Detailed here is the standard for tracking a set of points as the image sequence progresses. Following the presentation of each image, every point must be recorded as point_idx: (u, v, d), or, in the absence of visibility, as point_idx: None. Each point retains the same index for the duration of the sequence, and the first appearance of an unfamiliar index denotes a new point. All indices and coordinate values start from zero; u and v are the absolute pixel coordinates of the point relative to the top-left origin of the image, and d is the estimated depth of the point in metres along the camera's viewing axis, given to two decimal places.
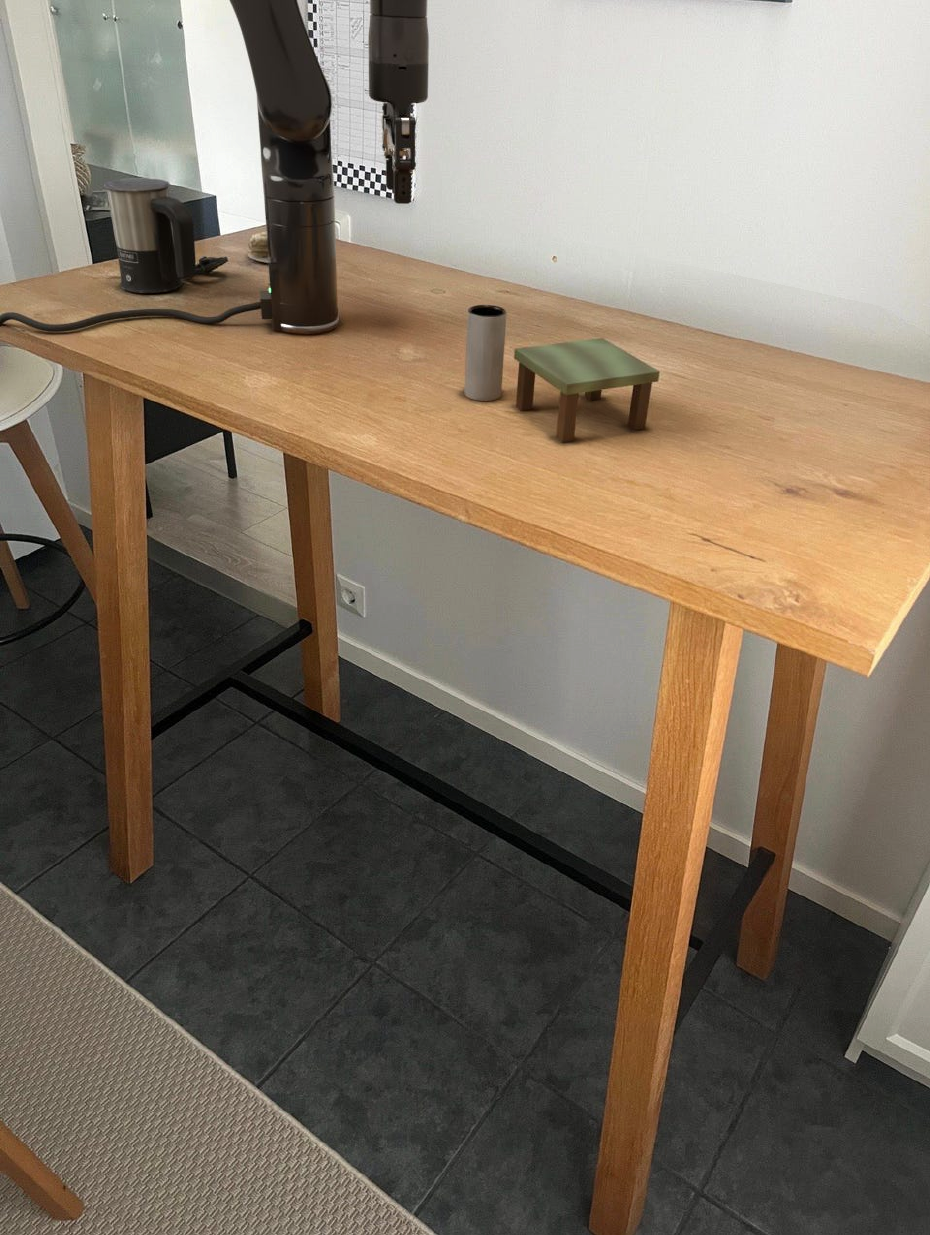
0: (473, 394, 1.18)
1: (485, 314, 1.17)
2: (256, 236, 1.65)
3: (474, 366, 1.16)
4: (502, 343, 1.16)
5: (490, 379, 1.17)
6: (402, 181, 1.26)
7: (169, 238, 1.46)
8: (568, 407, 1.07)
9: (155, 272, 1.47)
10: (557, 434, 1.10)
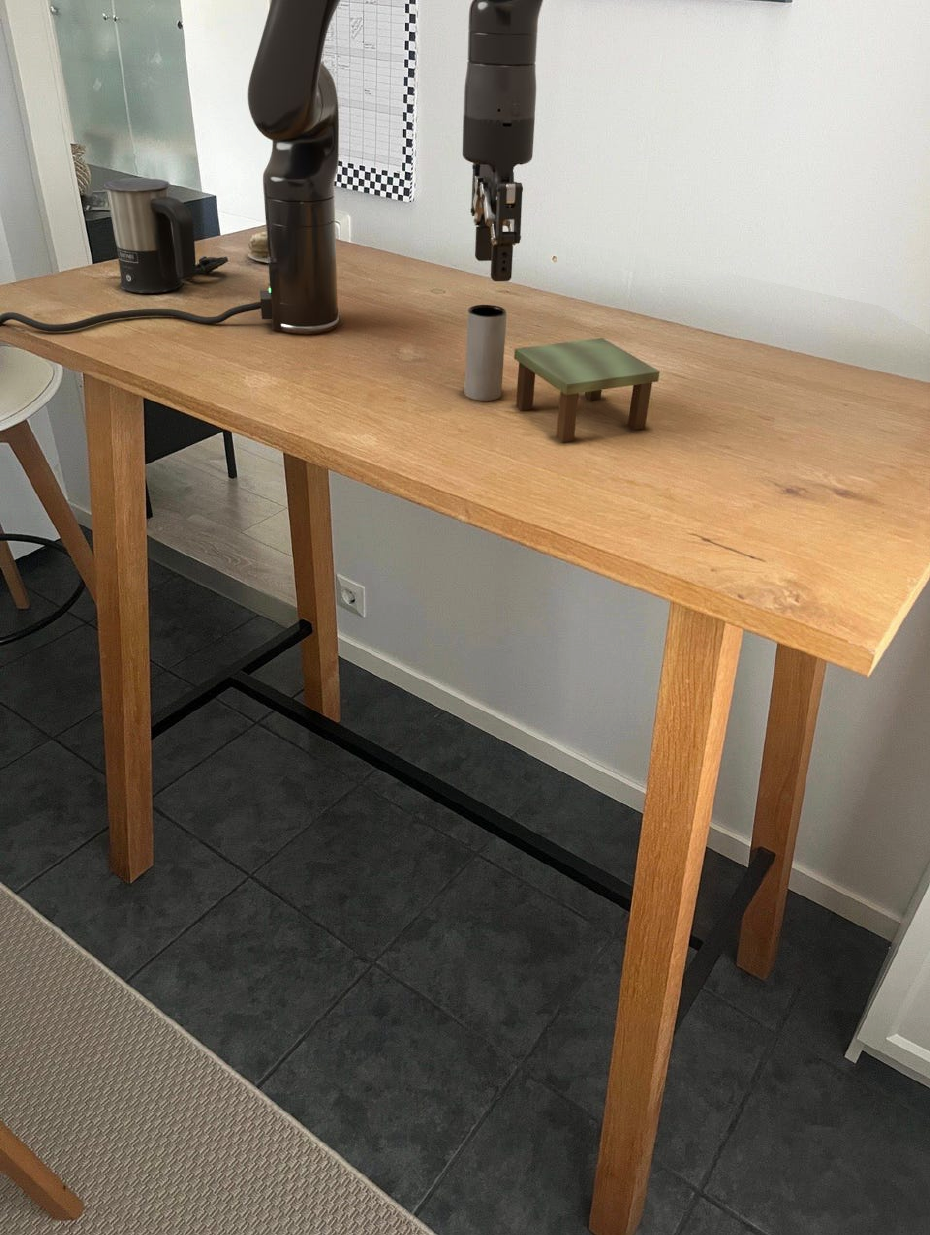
0: (473, 394, 1.18)
1: (485, 314, 1.17)
2: (256, 236, 1.65)
3: (474, 366, 1.16)
4: (502, 343, 1.16)
5: (490, 379, 1.17)
6: (502, 256, 1.06)
7: (169, 238, 1.46)
8: (568, 407, 1.07)
9: (155, 272, 1.47)
10: (557, 434, 1.10)
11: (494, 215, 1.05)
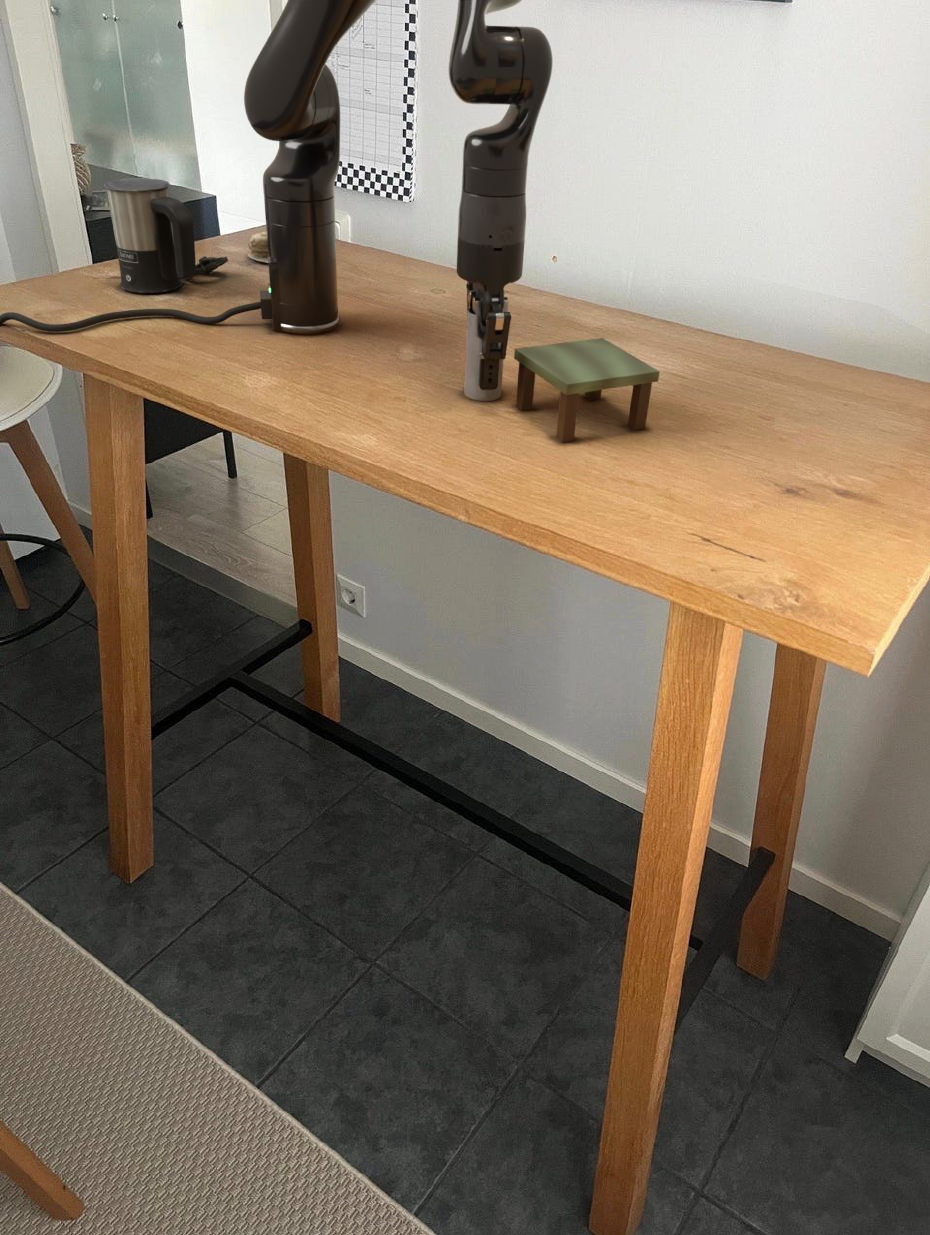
0: (473, 394, 1.18)
1: None
2: (256, 236, 1.65)
3: (474, 366, 1.16)
4: None
5: None
6: (489, 368, 1.15)
7: (169, 238, 1.46)
8: (568, 407, 1.07)
9: (155, 272, 1.47)
10: (557, 434, 1.10)
11: None
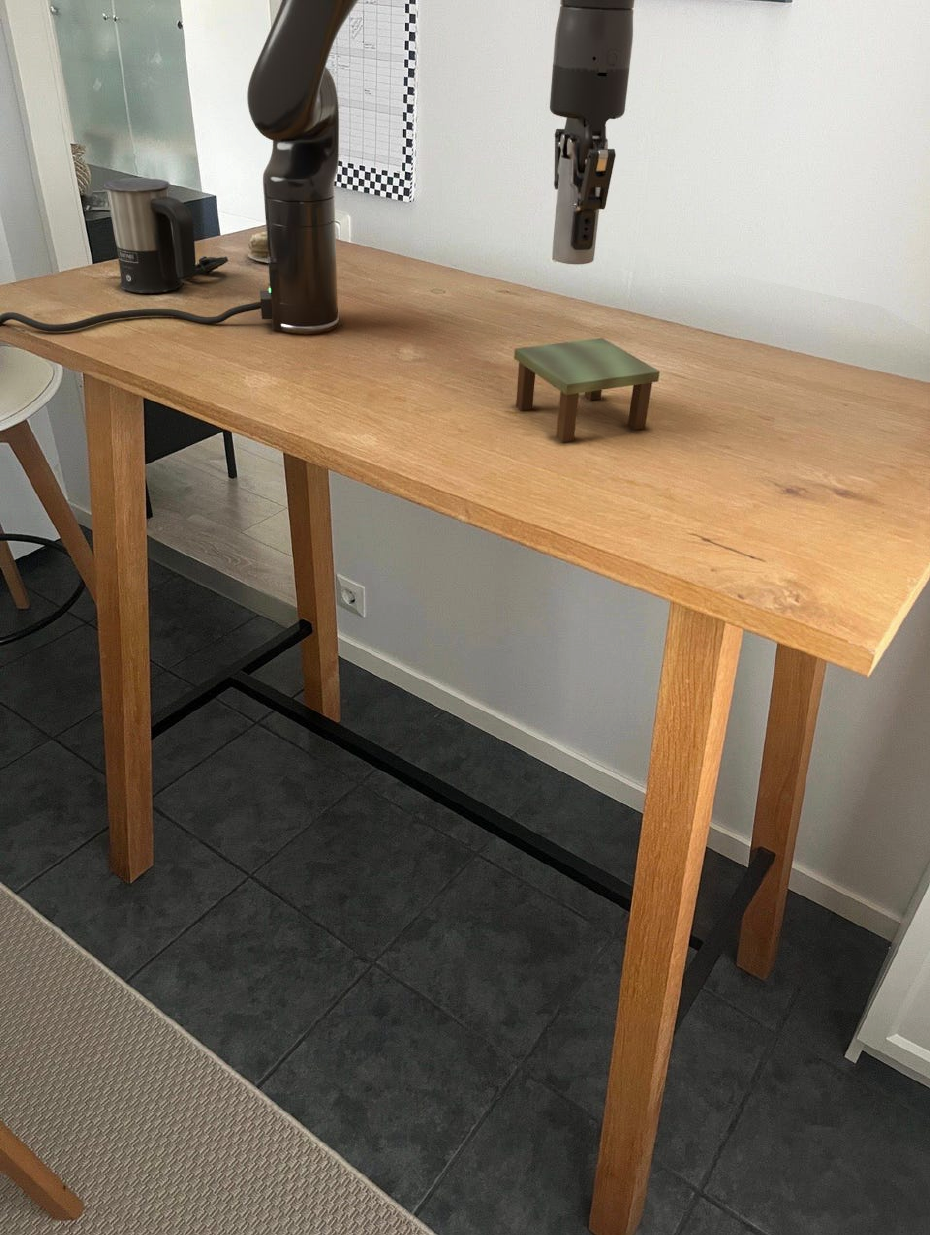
0: (564, 256, 1.05)
1: None
2: (256, 236, 1.65)
3: (566, 222, 1.03)
4: None
5: None
6: (585, 223, 1.01)
7: (169, 238, 1.46)
8: (568, 407, 1.07)
9: (155, 272, 1.47)
10: (557, 434, 1.10)
11: None
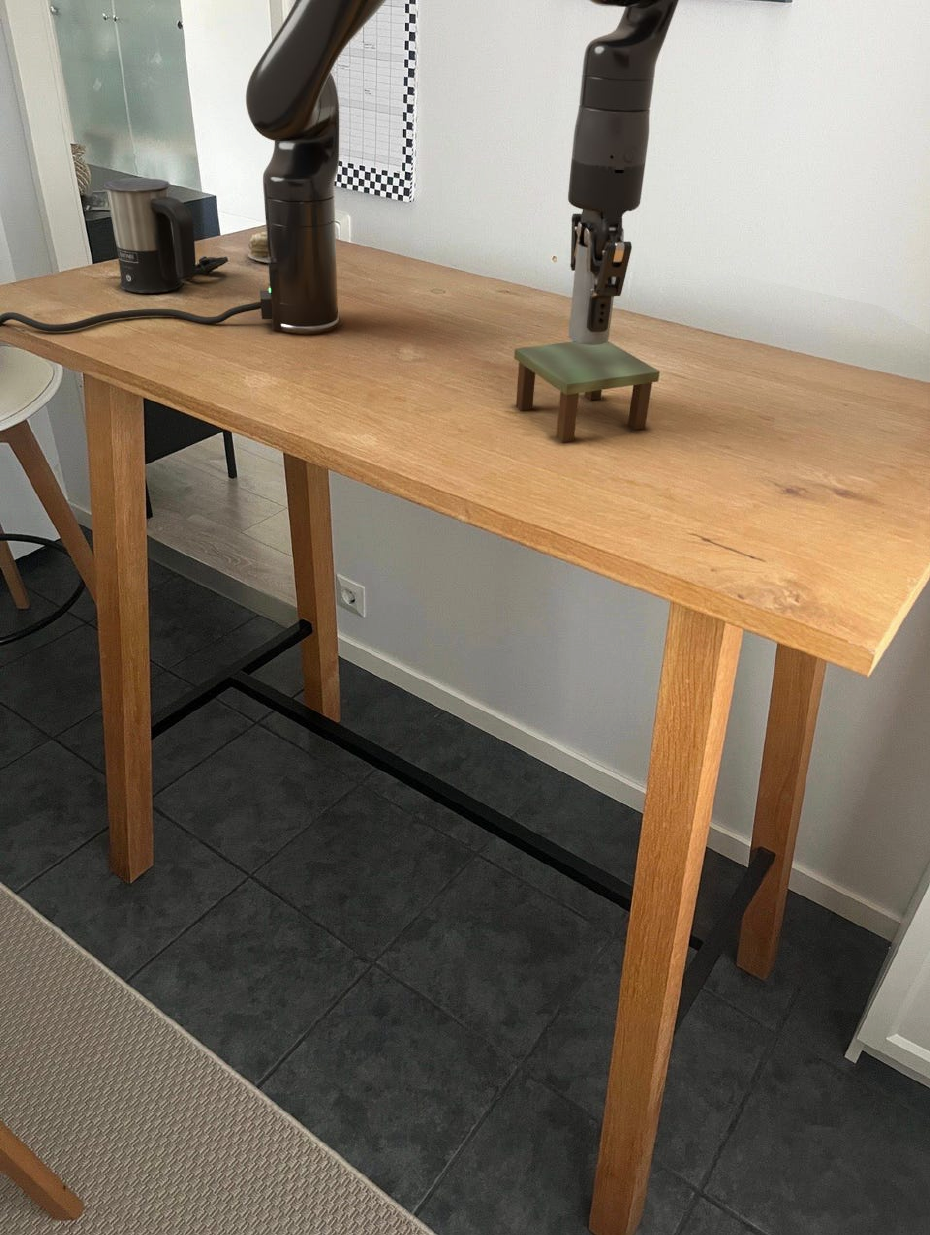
0: (580, 337, 1.08)
1: None
2: (256, 236, 1.65)
3: (583, 305, 1.06)
4: None
5: None
6: (601, 307, 1.05)
7: (169, 238, 1.46)
8: (568, 407, 1.07)
9: (155, 272, 1.47)
10: (557, 434, 1.10)
11: None
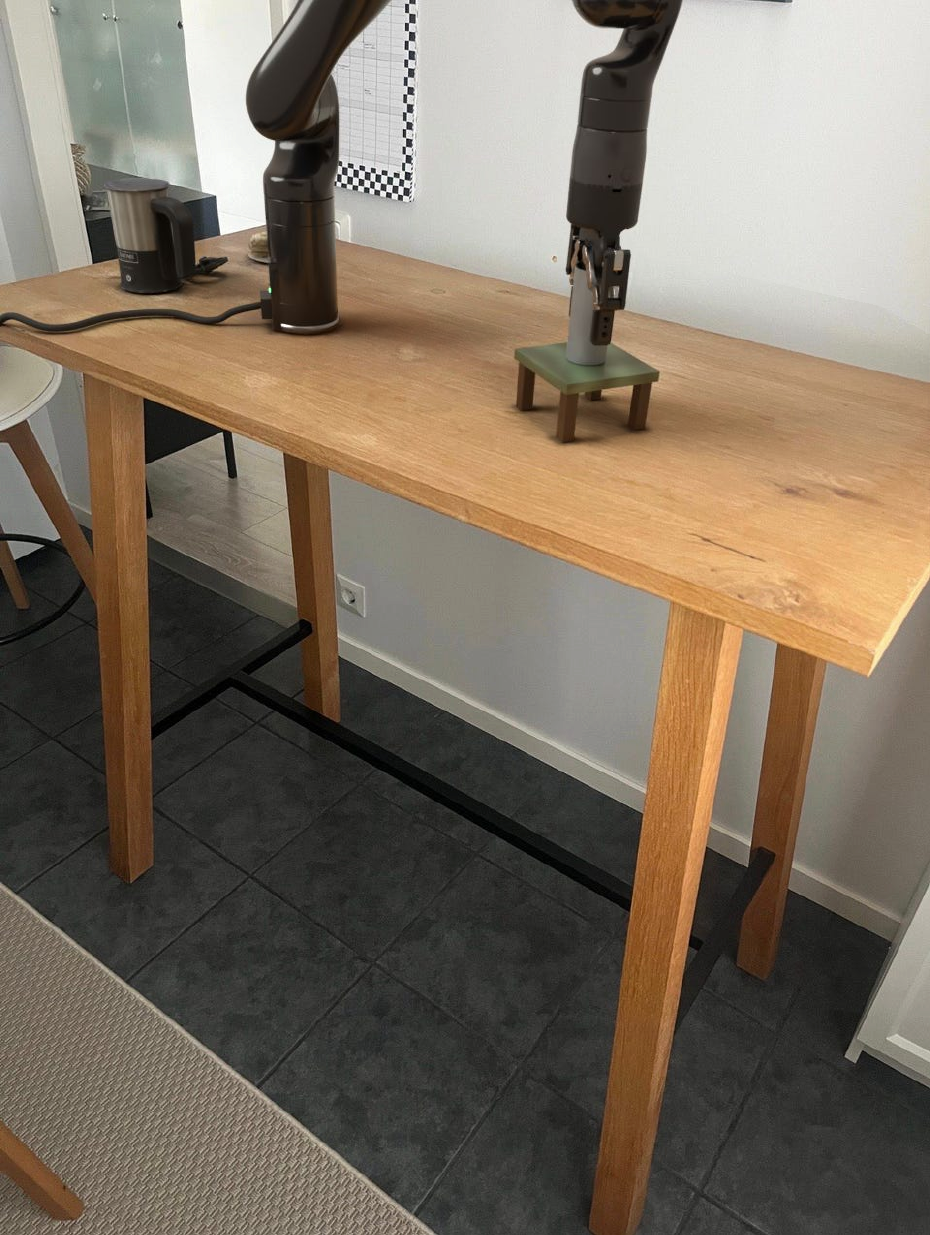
0: (577, 358, 1.10)
1: None
2: (256, 236, 1.65)
3: (580, 327, 1.08)
4: None
5: None
6: (604, 321, 1.04)
7: (169, 238, 1.46)
8: (568, 407, 1.07)
9: (155, 272, 1.47)
10: (557, 434, 1.10)
11: (597, 280, 1.03)
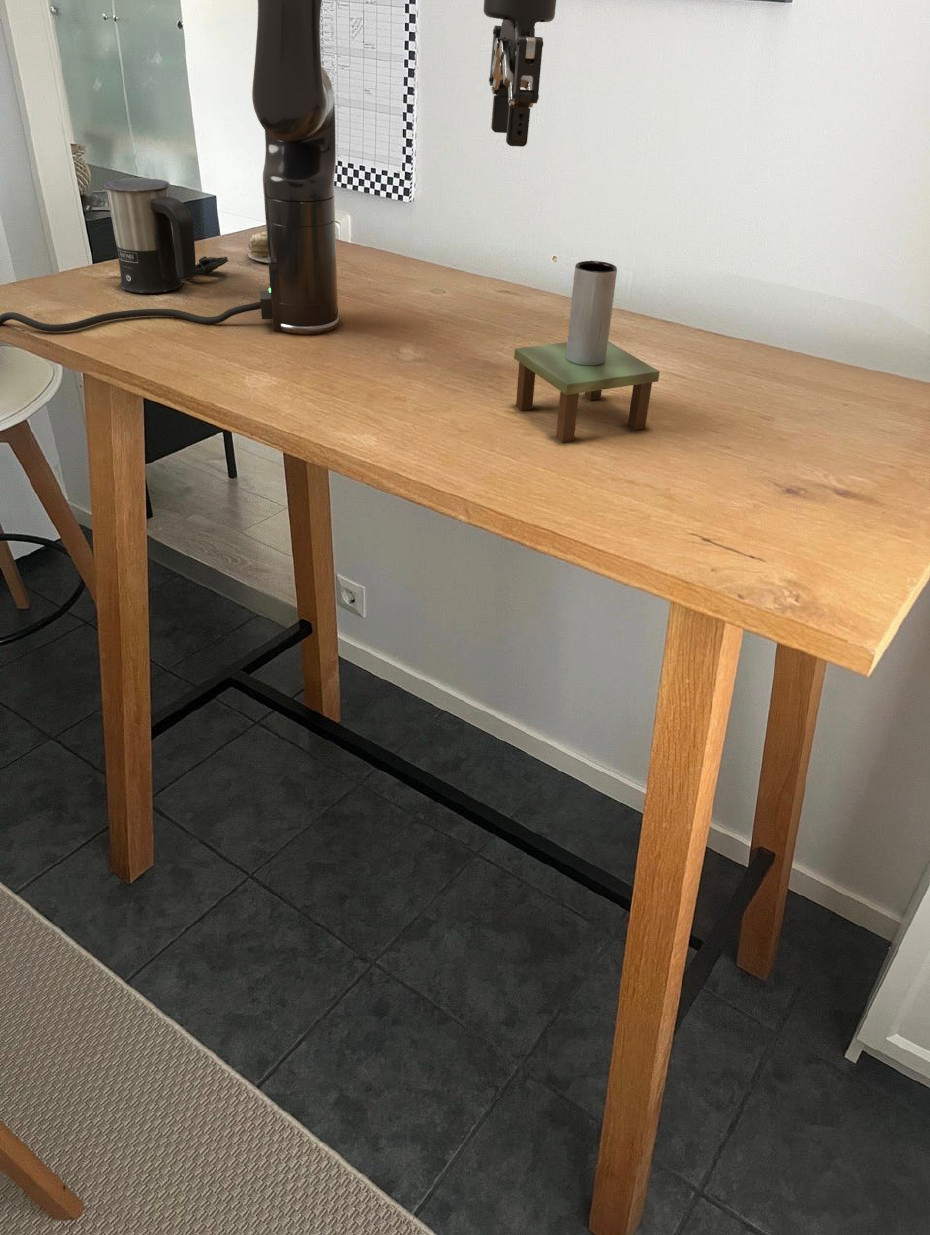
0: (577, 358, 1.10)
1: None
2: (256, 236, 1.65)
3: (580, 327, 1.08)
4: (611, 302, 1.07)
5: (597, 341, 1.08)
6: (519, 118, 1.04)
7: (169, 238, 1.46)
8: (568, 407, 1.07)
9: (155, 272, 1.47)
10: (557, 434, 1.10)
11: (512, 74, 1.03)
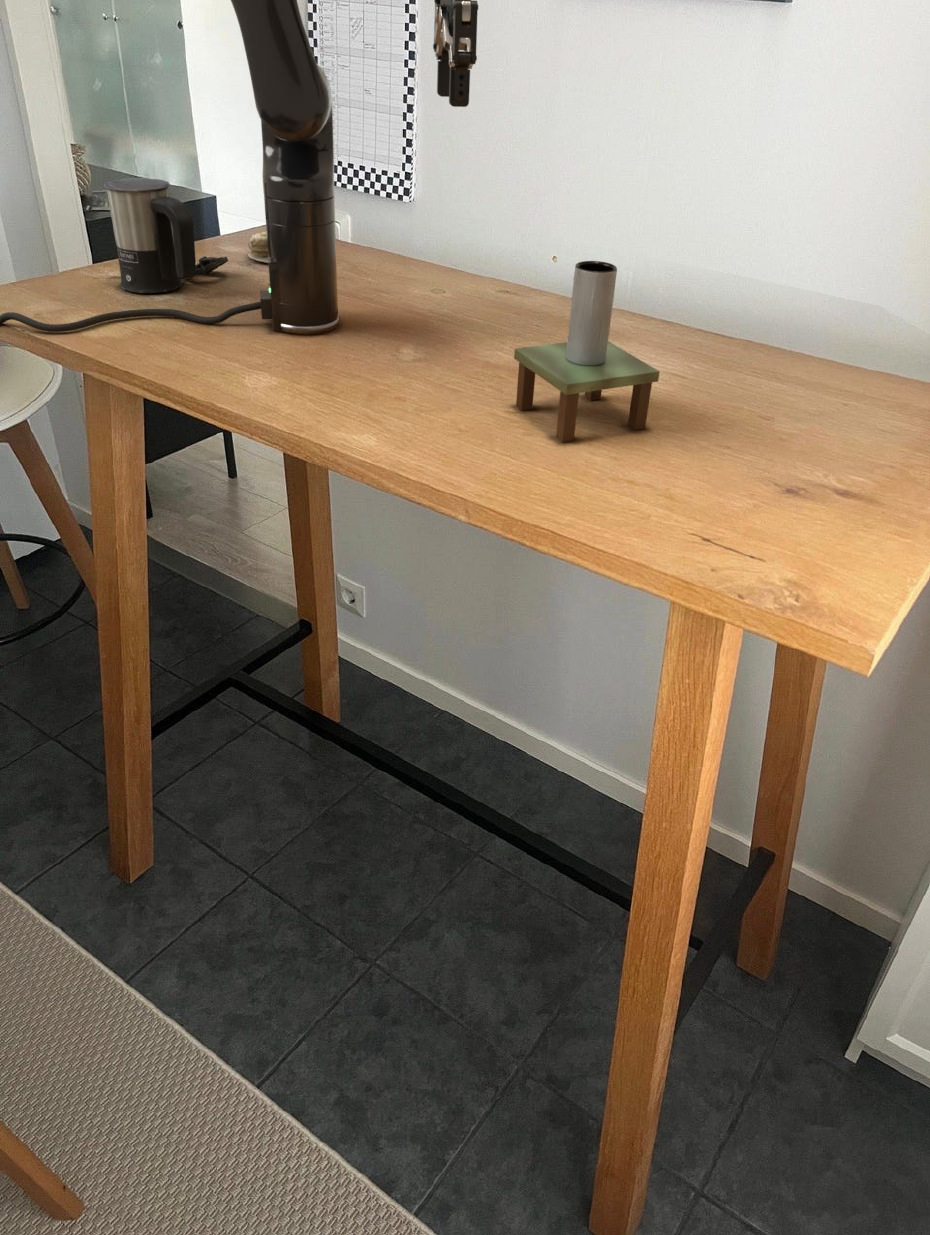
0: (577, 358, 1.10)
1: None
2: (256, 236, 1.65)
3: (580, 327, 1.08)
4: (611, 302, 1.07)
5: (597, 341, 1.08)
6: (460, 79, 1.10)
7: (169, 238, 1.46)
8: (568, 407, 1.07)
9: (155, 272, 1.47)
10: (557, 434, 1.10)
11: (452, 37, 1.09)
